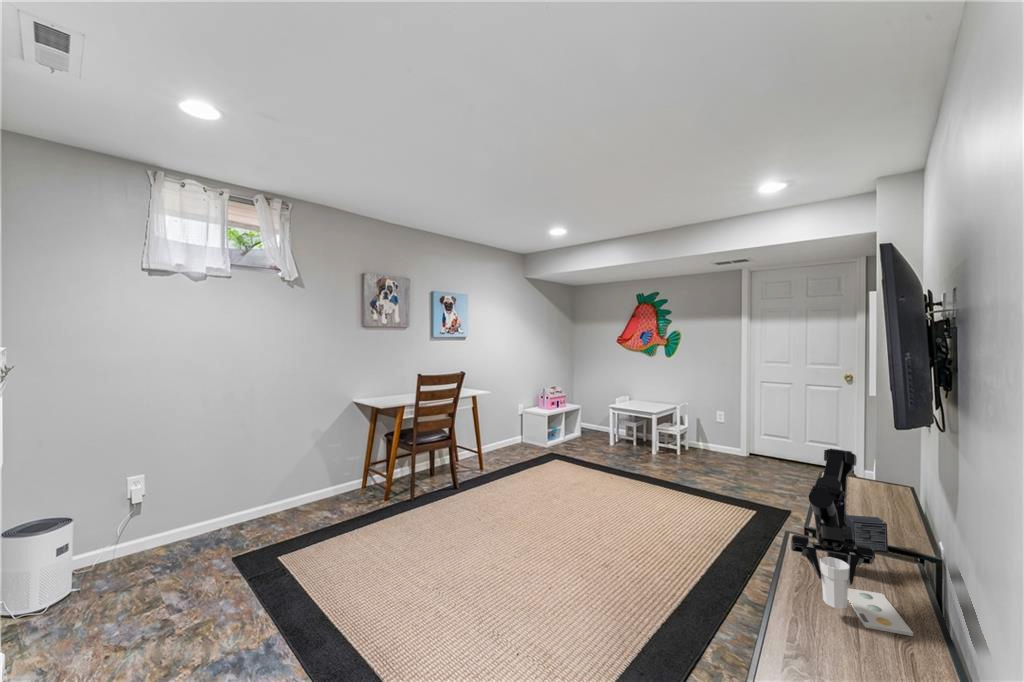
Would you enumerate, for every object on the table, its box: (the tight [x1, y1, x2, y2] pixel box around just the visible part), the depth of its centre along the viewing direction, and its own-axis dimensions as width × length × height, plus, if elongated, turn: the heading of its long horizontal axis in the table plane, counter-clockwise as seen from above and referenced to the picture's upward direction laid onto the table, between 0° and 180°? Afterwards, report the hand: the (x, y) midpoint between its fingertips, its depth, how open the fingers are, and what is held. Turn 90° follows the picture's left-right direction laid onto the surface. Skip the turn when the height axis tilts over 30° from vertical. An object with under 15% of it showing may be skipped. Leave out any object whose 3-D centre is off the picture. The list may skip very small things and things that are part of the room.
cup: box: [819, 556, 850, 610], centre depth 117 cm, size 7×7×11 cm
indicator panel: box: [847, 587, 914, 637], centre depth 120 cm, size 18×10×1 cm, turn 158°
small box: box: [846, 514, 889, 554], centre depth 155 cm, size 11×6×10 cm, turn 74°
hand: (835, 581), depth 116 cm, fingers closed on cup, 6 cm apart
